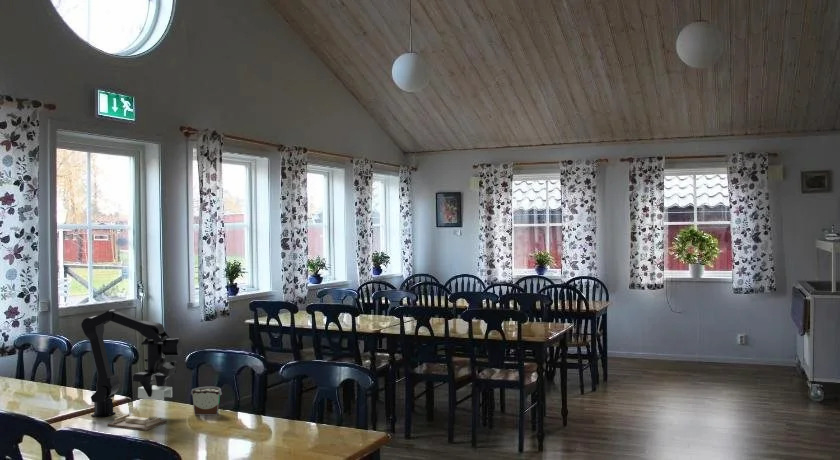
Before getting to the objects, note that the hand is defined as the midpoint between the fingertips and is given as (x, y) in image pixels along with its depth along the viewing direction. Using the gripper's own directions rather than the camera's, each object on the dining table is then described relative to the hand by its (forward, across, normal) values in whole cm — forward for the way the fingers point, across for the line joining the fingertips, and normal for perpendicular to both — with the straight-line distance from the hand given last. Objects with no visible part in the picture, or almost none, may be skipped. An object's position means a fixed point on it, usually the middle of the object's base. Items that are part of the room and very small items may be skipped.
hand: (155, 394), depth 271 cm
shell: (+1, 0, 0) cm, 1 cm away
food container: (+8, +10, -18) cm, 22 cm away
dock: (+8, -12, -2) cm, 15 cm away
